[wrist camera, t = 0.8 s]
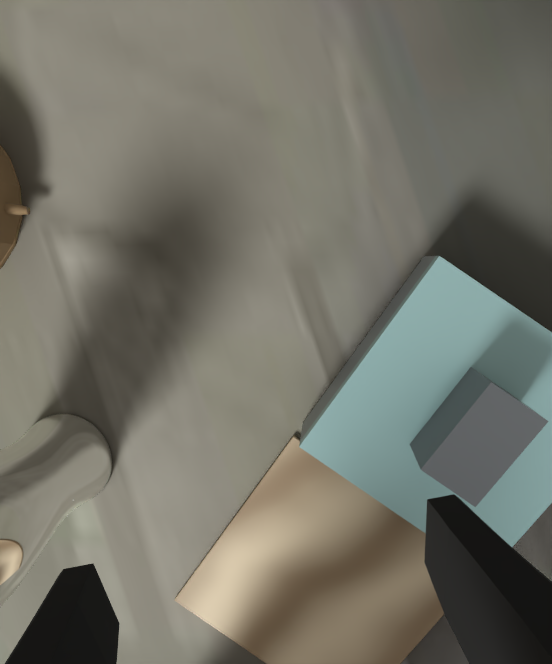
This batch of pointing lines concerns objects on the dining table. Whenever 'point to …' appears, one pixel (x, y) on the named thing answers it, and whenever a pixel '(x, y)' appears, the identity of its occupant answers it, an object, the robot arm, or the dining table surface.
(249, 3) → the dining table surface
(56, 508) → the beer glass
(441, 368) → the lid
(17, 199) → the alarm clock
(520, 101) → the dining table surface
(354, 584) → the cork pad
